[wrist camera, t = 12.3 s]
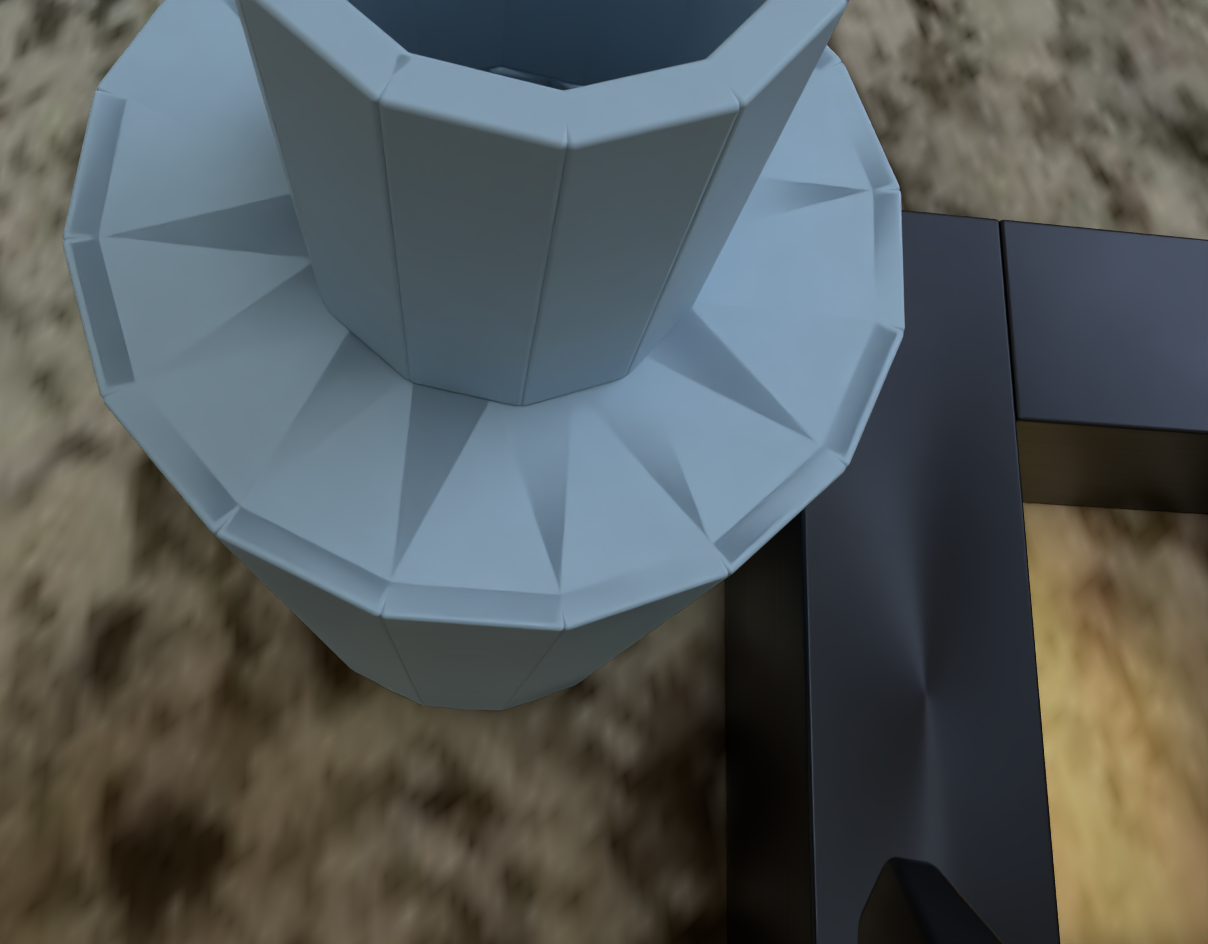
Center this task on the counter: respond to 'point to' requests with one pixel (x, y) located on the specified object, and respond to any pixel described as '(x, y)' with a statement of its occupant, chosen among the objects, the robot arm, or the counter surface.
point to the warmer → (950, 574)
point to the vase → (488, 308)
